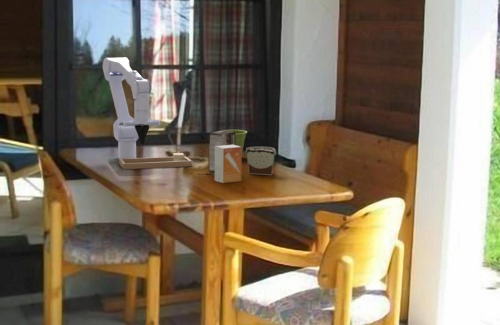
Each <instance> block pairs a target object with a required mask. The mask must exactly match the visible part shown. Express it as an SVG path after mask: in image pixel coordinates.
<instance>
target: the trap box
mask: <svg viewBox="0 0 500 325" xmlns="http://www.w3.org/2000/svg"><path fill="white" fill-rule="evenodd" d="M118 160H119V162H118V163H119V166H120V167H121V168H122V169H123V170H133V169H135V170H136V169H159V168H176V167H177V168H178V167H192V166H193V164H192V163H193V160H192V159H190V158H189V157H187V156H186V155H185V161H173V156H159V157H158V156H155V157H136V158H128V159H119V158H118Z"/></svg>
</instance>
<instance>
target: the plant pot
mask: <svg viewBox="0 0 500 325" xmlns="http://www.w3.org/2000/svg"><path fill="white" fill-rule="evenodd" d="M226 130H227V131H233V132H235V137H236V146H240V147H242V153H241V158H242V156H243V150H244V144H245V139H246V137H247V136H246V135H247V133H248V131H247V130H242V129H226Z"/></svg>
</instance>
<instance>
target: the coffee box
mask: <svg viewBox="0 0 500 325" xmlns="http://www.w3.org/2000/svg"><path fill="white" fill-rule="evenodd" d="M227 130H228V129H223V130H218V131H213V132H209V174H210V175H215V146H223V145H236V137H235V132H233V131H227Z"/></svg>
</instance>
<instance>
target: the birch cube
mask: <svg viewBox="0 0 500 325" xmlns="http://www.w3.org/2000/svg"><path fill="white" fill-rule="evenodd" d="M185 156H186V155H185V154H184V153H183V152H175V153H172V157H173V161H185Z"/></svg>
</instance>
